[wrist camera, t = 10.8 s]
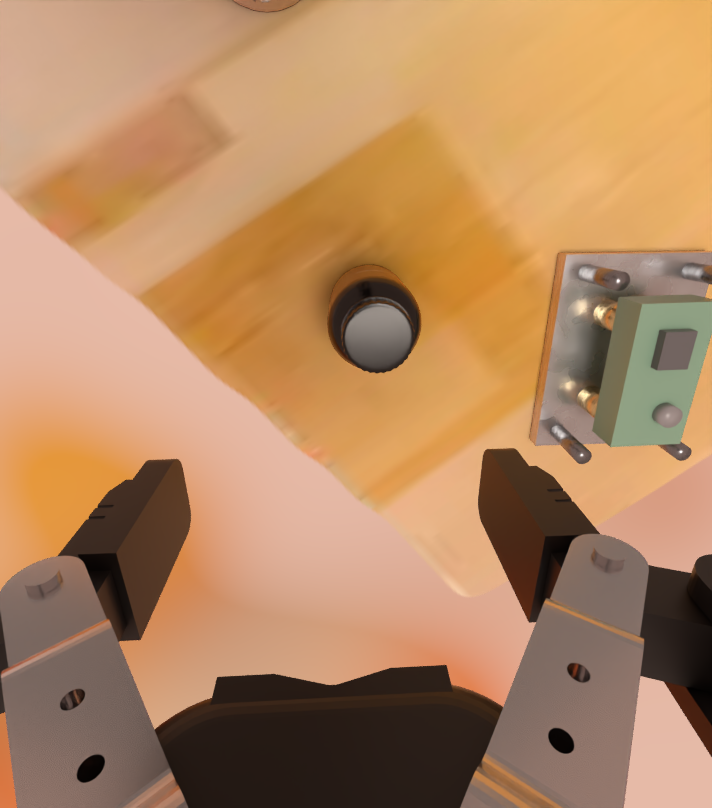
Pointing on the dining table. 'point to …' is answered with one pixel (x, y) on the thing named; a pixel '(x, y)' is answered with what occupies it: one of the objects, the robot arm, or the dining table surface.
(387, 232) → the dining table surface
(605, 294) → the chassis
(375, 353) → the supplement bottle
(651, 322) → the board
